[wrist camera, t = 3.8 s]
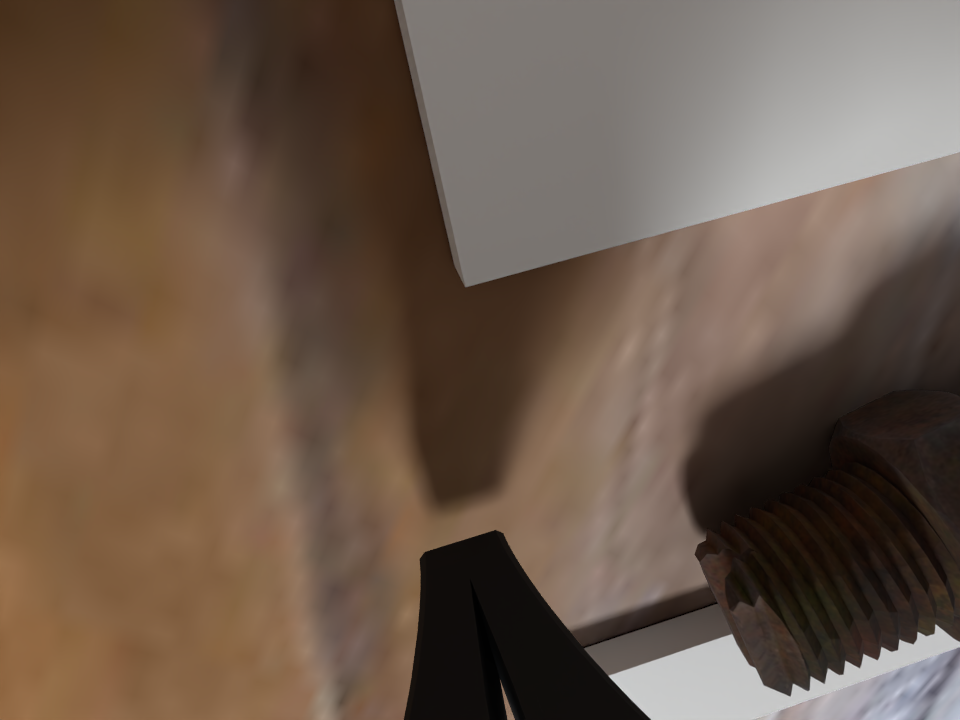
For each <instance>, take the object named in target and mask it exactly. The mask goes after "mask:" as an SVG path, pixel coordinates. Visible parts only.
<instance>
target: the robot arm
mask: <svg viewBox="0 0 960 720" xmlns="http://www.w3.org/2000/svg"><path fill="white" fill-rule="evenodd" d="M420 570H421V592H420V610H419V622H418V633H417V641H416V648H415V656H414V663H413V671H412V678H411V684H410V690H409V696H408V701H407V706H406V711H405V717H404V720H507V715H506V710H505V704H504V699H503V693H502V688H501V683H502V686H503V688H504V691H505V694H506V696H507V699H508V702H509V705H510V707H511V710H512V713H513V715H514V718H515V720H651V719H650V718H649V717H648V716H647V715H646V714H645V713H644V712H643V711H642V710H641V709H640V708H639V707H638V706H637V705H636V704H635V703H634V702H633V701H632V700H631V699H630V698H629V697H628V696H627V695H626V694H625V693H624V692H623V691H622V690H621V689H620V688H619V687H618V686H617V685H616V683H615V682H614V681H613V680H612V679H611V678H610V677H609V676H608V675H607V674H606V673H605V672H604V670H603V669H602V668H601V667H600V666H599V665H598V664H597V663H596V662H595V661H594V659H593V658H592V657H591V656H590V655H589V654H588V653H587V652H586V650H585V649H584V648H583V647H582V646H581V645H580V643H579V642H578V641H577V640H576V639H575V638H574V636H573V635H572V634H571V633H570V631H569V630H568V629H567V628H566V626H565V625H564V624H563V623H562V621H561V620H560V619H559V618H558V616H557V615H556V614H555V613H554V611H553V610H552V609H551V608H550V606H549V605H548V604H547V602H546V601H545V600H544V598H543V597H542V596H541V594H540V593H539V592H538V590H537V589H536V587H535V586H534V585H533V583H532V582H531V580H530V579H529V577H528V576H527V574H526V573H525V571H524V570H523V568H522V567H521V565H520V564H519V562H518V560H517V559H516V557H515V555H514V554H513V552H512V550H511V548H510V546H509V545H508V543H507V541H506V539H505V536H504V534H503V533H501V532H499V531H497V530H494V531H491V532H488V533H485V534H481V535H478V536H475V537H472V538H469V539H465V540H462V541H459V542H456V543H452V544H449V545H446V546H443V547H440V548H436V549H433V550H430V551H427V552H425V553H424V554H423V555H422V557H421V558H420ZM500 680H501V683H500Z"/></svg>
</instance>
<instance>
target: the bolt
mask: <svg viewBox="0 0 960 720" xmlns="http://www.w3.org/2000/svg"><path fill="white" fill-rule="evenodd" d="M829 452H830V457H831V462H832V467H833V470H829V471H828V473H827V474H826V476H825V478H822V477H817V478H813V479H812V481H811V483H810V484H809V486H806V485H803V484H802V485H800V486H798V487H796V488H795V489H794V494H793V493H786V492H784V493H782V494H781V495H780V498H779V502H777V501H773V500H767V501H766V502H765V511H764V510H761V509H757V508H754V507H752V508H751V509H750V513H749V519H748V518H745V517H741V516H738V515H735V525H734V526H732V525H730V524H727V523H725V522H723V521H722V522H721V531H720V534H718V533H716V532H714V531H712V530H709V529H707V535H706V541H704V542H702V543H700V544H698V546H697V549H696V552H695V556H696V557H697V559H698V560H699V562H700V565H701V567H702V570H703V573H704V575H705V577H706V580H707V582H708V584H709V587H710V589H711V591H712V593H713V595H714V597H715V599H716V600H717V602H718V604H719V606H720V608H721V610H722V612H723V614H724V616H725V618H726V621H727V623H728V625H729V628H730V630H731V632H732V635H733V637H734V639H735V641H736V643H737V645H738V647H739V649H740V650H741V652H742V654H743V655H744V657H745V659H746V660H747V662H748V664H749V665H750V666H752V667H754V668H756V670H757V672H758V674H759V676H760V679H761V681H762V683H763V685H764V686H766V687H769V688H771V689H773V690H776V691H778V692H780V693H783V694H785V695H788V696H790V697H791V692H792V687H793V684H795V685H797V686H799V687H800V688H802V689H804V690H806V691H810V679H811V677H813V678H814V679H816V680H818V681H820V682H822V683H823V684H825V680H826V675H827V671H828V669H830V670H831V671H833V672H835V673H836V674H838V675H844V668H845V661H847V662H849V663H851V664H852V665H854V666H856V667H858V668H860V667H861V664H862V660H863V655H864V654H865V655H867V656H869V657H871V658H873V659H875V660H878V659H879V657H880V652H881V647H883V648H885V649H887V650H888V651H890V652H893V651H897V650H898V647H899V639H900V640H901V641H904V642H907V643H910V644H913V645H914V643H915V642H916V640H917V634H918V632H919V633H921V634H923V635H925V636H929V635H933V634H935V625H937V626H938V627H940V628H941V629H942V630H943V631H945V632H946V633H947V634H948V635H950V636H951V637H952V638H953V639H955V640H957V641H959V642H960V396H958V395H955V394H952V393H948V392H944V391H926V390H908V391H893V392H891V393H889V394H887V395H885V396H883V397H881V398H879V399H877V400H875V401H873V402H871V403H869V404H867V405H865V406H863V407H861V408H859V409H857V410H855V411H853V412H851V413H849V414H847V415H845V416H843V417H841V418H839V420H838V422H837V424H836V426H835V429H834V432H833V436H832V439H831V443H830V446H829Z"/></svg>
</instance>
